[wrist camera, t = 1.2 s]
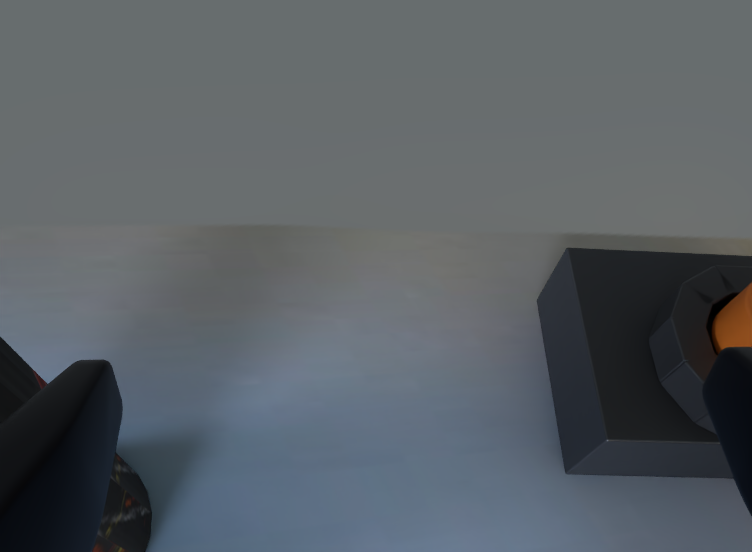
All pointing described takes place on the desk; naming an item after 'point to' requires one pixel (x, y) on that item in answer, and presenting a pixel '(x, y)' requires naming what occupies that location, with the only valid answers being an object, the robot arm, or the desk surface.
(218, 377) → the desk surface
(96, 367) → the robot arm
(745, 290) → the orange push button
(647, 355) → the push button box
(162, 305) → the desk surface
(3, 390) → the deodorant
